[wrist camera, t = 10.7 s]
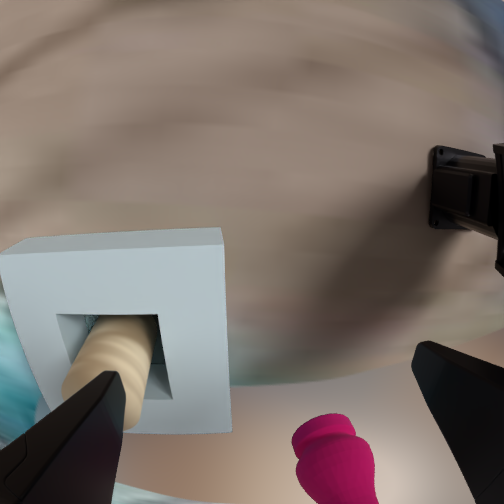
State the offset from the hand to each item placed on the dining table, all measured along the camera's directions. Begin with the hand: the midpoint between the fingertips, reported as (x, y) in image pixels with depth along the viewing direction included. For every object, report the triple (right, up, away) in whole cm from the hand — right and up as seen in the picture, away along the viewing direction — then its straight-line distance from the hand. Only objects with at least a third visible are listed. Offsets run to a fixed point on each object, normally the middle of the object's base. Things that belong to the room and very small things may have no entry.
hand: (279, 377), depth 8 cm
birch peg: (-10, -2, +13) cm, 16 cm away
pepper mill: (+6, -15, +19) cm, 25 cm away
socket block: (-10, -2, +12) cm, 16 cm away
